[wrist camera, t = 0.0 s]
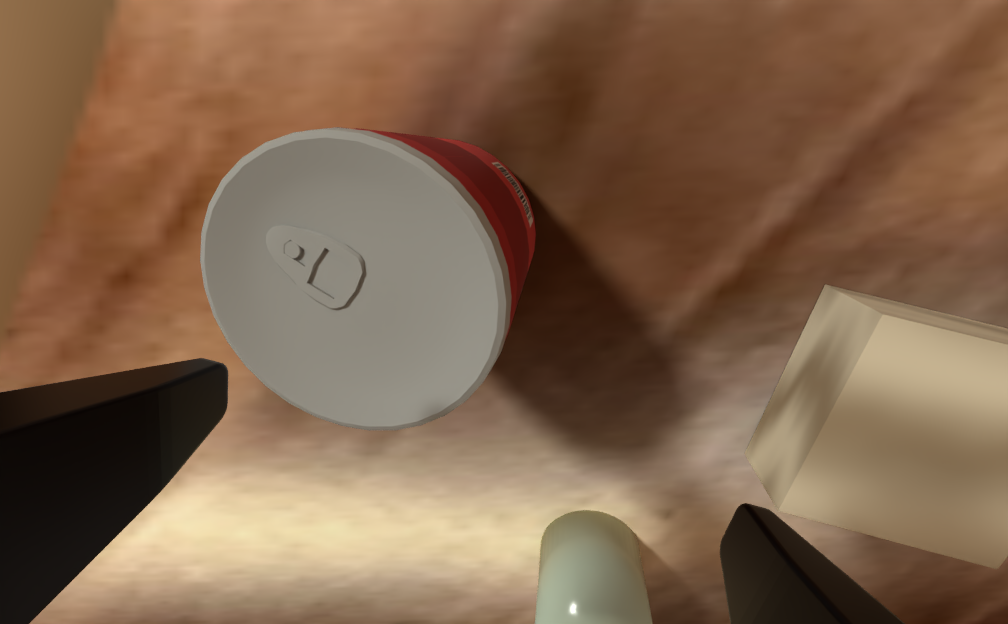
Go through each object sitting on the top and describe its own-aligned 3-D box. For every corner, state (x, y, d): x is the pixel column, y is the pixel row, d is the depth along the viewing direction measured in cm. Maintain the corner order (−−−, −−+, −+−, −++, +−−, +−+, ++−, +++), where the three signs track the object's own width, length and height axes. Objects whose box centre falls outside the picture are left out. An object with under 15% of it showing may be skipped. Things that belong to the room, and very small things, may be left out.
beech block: (927, 501, 23) (997, 569, 19) (744, 453, 24) (778, 511, 20) (1037, 335, 20) (1146, 378, 16) (825, 284, 20) (882, 314, 17)
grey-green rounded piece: (622, 597, 28) (636, 712, 22) (530, 572, 28) (521, 678, 22) (652, 525, 26) (676, 631, 20) (554, 499, 26) (550, 595, 20)
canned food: (388, 114, 21) (208, 77, 10) (562, 173, 20) (556, 195, 10) (354, 275, 23) (184, 375, 13) (508, 329, 23) (460, 473, 13)
